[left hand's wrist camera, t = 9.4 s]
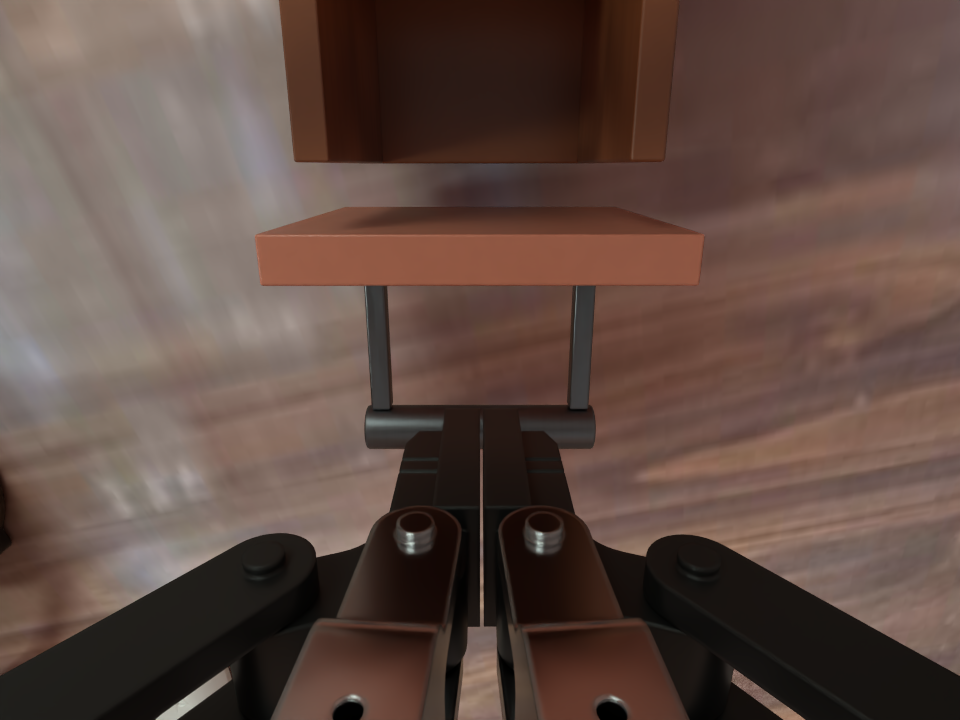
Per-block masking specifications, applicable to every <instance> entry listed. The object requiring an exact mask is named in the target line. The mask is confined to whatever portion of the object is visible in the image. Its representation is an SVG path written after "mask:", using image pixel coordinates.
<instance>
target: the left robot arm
mask: <svg viewBox="0 0 960 720" xmlns="http://www.w3.org/2000/svg"><path fill="white" fill-rule="evenodd" d="M4 518H5V501H4V495H3V492H2V488H1V486H0V554H1V553H2V552H4V551H5V550H6V549H7V548H8V547H9V546H11V544H12V542H11V540H10V539H9V537H8V536H7V534H6V533H5V531H4V529H3V523H4ZM483 572H484V626H496V630H497V678H498V686H499V694H500V703H501V711H502V719H503V720H783V719H781V718H780V717H779V716H777V715H776V714H775V713H773V712H772V711H771V710H769V709H768V708H766V707H765V706H764V705H762V704H761V703H760V702H758V701H757V700H755V699H754V698H753V697H751V696H750V695H749V694H747V693H746V692H745V691H743V690H742V689H740V688H739V687H738V686H736V685H735V684H734V683H732V682H731V680H732V675H733V670H734V669H736V670H737V671H738V672H740V673H741V674H743V675H744V676H745V677H747V678H748V679H750V680H751V681H752V682H754V683H755V684H757V685H758V686H759V687H761V688H762V689H764V690H765V691H766V692H768V693H769V694H771V695H772V696H774V697H775V698H776V699H778V700H779V701H781V702H782V703H783V704H785V705H786V706H788V707H789V708H790V709H792V710H793V711H795V712H796V713H797V714H799V715H800V716H801V717H803V718H804V719H805V720H960V676H959V675H957V674H955V673H953V672H951V671H950V670H948V669H946V668H944V667H942V666H941V665H939V664H937V663H935V662H933V661H932V660H930V659H928V658H926V657H924V656H922V655H921V654H919V653H917V652H915V651H913V650H912V649H910V648H908V647H906V646H904V645H903V644H901V643H899V642H897V641H895V640H894V639H892V638H890V637H888V636H886V635H885V634H883V633H881V632H879V631H877V630H876V629H874V628H872V627H870V626H868V625H867V624H865V623H863V622H861V621H859V620H858V619H856V618H854V617H852V616H850V615H848V614H847V613H845V612H843V611H841V610H839V609H838V608H836V607H834V606H832V605H830V604H829V603H827V602H825V601H823V600H821V599H820V598H818V597H816V596H814V595H812V594H811V593H809V592H807V591H805V590H803V589H802V588H800V587H798V586H796V585H794V584H793V583H791V582H789V581H787V580H785V579H784V578H782V577H780V576H778V575H776V574H774V573H773V572H771V571H769V570H767V569H765V568H764V567H762V566H760V565H758V564H756V563H755V562H753V561H751V560H749V559H747V558H746V557H744V556H742V555H740V554H738V553H737V552H735V551H733V550H731V549H729V548H728V547H726V546H724V545H722V544H720V543H718V542H715V541H713V540H710V539H707V538H703V537H699V536H694V535H671V536H666V537H663V538H660V539H658V540H657V541H655V542H654V543H653V544H651V546H650V547H649V549H648V551H647V555H646V557H644V556H639V555H635V554H630V553H626V552H622V551H618V550H614V549H611V548H609V547H606V546H604V545H602V544H600V543H598V542H596V541H595V540H593V539H592V536H591V534H590V531H589V529H588V527H587V525H586V524H585V523H584V522H583V520H581V519H580V518H579V517H578V516H576V515H575V512H574V508H573V504H572V500H571V496H570V492H569V488H568V484H567V480H566V476H565V473H564V468H563V465H562V461H561V457H560V453H559V449H558V445H557V443H556V442H555V441H554V440H553V439H552V438H551V437H550V436H549V435H548V434H546V433H545V432H544V431H521V426H520V419H519V412H518V408H483ZM468 627H480V408H445V413H444V421H443V428H442V431H419V432H418V433H417V434H416V435H415V436H414V437H413V438H411V439H410V440H409V441H408V442H407V443H406V446H405V450H404V454H403V458H402V462H401V466H400V473H399V475H398V479H397V483H396V487H395V491H394V495H393V499H392V504H391V508H390V512H389V513H387V514H385V515H384V516H382V517H381V518H380V519H379V520H377V522H376V523H375V524H374V525H373V527H372V529H371V531H370V533H369V536H368V539H367V541H366V543H365V544H363V545H361V546H359V547H356V548H353V549H351V550H347V551H343V552H339V553H335V554H330V555H326V556H321V557H317V558H316V552H315V549H314V547H313V546H312V544H311V543H310V542H309V541H307V540H306V539H304V538H302V537H300V536H297V535H293V534H287V533H275V534H267V535H262V536H258V537H254V538H252V539H249V540H246V541H244V542H242V543H240V544H238V545H236V546H234V547H232V548H231V549H229V550H227V551H225V552H223V553H222V554H220V555H218V556H216V557H214V558H213V559H211V560H209V561H207V562H205V563H204V564H202V565H200V566H198V567H196V568H195V569H193V570H191V571H189V572H187V573H186V574H184V575H182V576H180V577H178V578H177V579H175V580H173V581H171V582H169V583H167V584H166V585H164V586H162V587H160V588H158V589H157V590H155V591H153V592H151V593H149V594H148V595H146V596H144V597H142V598H140V599H139V600H137V601H135V602H133V603H131V604H130V605H128V606H126V607H124V608H122V609H121V610H119V611H117V612H115V613H113V614H112V615H110V616H108V617H106V618H104V619H103V620H101V621H99V622H97V623H95V624H93V625H92V626H90V627H88V628H86V629H84V630H83V631H81V632H79V633H77V634H75V635H74V636H72V637H70V638H68V639H66V640H65V641H63V642H61V643H59V644H57V645H56V646H54V647H52V648H50V649H48V650H47V651H45V652H43V653H41V654H39V655H38V656H36V657H34V658H32V659H30V660H29V661H27V662H25V663H23V664H21V665H19V666H18V667H16V668H14V669H12V670H10V671H9V672H7V673H5V674H3V675H1V676H0V720H156V719H157V718H158V717H159V716H160V715H161V714H163V713H164V712H165V711H167V710H168V709H170V708H171V707H172V706H174V705H175V704H177V703H178V702H179V701H181V700H182V699H184V698H185V697H187V696H188V695H189V694H191V693H192V692H194V691H195V690H196V689H198V688H199V687H201V686H202V685H203V684H205V683H206V682H208V681H209V680H210V679H212V678H213V677H215V676H216V675H217V674H219V673H220V672H222V671H223V670H224V669H226V668H227V667H229V666H230V667H231V672H232V677H233V679H232V680H230V681H229V682H228V683H226V684H225V685H224V686H222V687H221V688H220V689H218V690H217V691H215V692H214V693H213V694H211V695H210V696H209V697H207V698H206V699H205V700H203V701H202V702H200V703H199V704H198V705H196V706H195V707H194V708H192V709H191V710H189V711H188V712H187V713H185V714H184V715H183V716H181V717H180V718H179V719H177V720H457V719H458V711H459V703H460V694H461V686H462V678H463V656H464V654H465V652H466V649H467V633H468Z"/></svg>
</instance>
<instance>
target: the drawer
mask: <svg viewBox="0 0 960 720" xmlns="http://www.w3.org/2000/svg"><path fill="white" fill-rule="evenodd" d="M679 1H680V0H279V5H280V15H281V26H282V36H283V47H284V58H285V68H286V79H287V89H288V100H289V111H290V121H291V132H292V142H293V153H294V160H295V162H319V163H627V162H662V161H664V159H665V153H666V142H667V131H668V120H669V110H670V99H671V88H672V77H673V66H674V56H675V45H676V34H677V23H678V12H679ZM704 237H705V236H704V234H701V233H698V232H695V231H691V230H688V229H685V228H682V227H678V226H675V225H672V224H669V223H665V222H662V221H659V220H656V219H652V218H649V217H646V216H643V215H639V214H636V213H633V212H630V211H626V210H623V209H620V208H617V207H344V208H341V209H338V210H334V211H331V212H328V213H325V214H321V215H318V216H315V217H312V218H308V219H305V220H302V221H299V222H295V223H292V224H289V225H286V226H282V227H279V228H276V229H273V230H269V231H266V232H263V233H259V234H257V235H255V241H256V249H257V258H258V266H259V275H260V283H261V285H263V286H364V290H365V306H366V322H367V338H368V353H369V369H370V385H371V401H372V405H370V406H368V408H367V411H366V415H365V442H366V445H367V447H368V448H369V449H405V446H406V443H407V442H408V441H409V440H410V439H411V438H413V437H414V436H415V435H416V434H417V433H418V432H419V431H442V428H443V421H444V413H445V408H480V449H483V408H518V412H519V419H520V426H521V431H544V432H545V433H546V434H548V435H549V436H550V437H551V438H552V439H553V440H554V441H555V442H556V443H557V445H558V449H591V448H593V446H594V442H595V434H596V424H595V415H594V410H593V408H592V406H590V405H588V403H589V386H590V370H591V354H592V337H593V321H594V305H595V289H596V286H696V285H699V280H700V272H701V263H702V255H703V246H704ZM387 286H573V292H572V313H571V333H570V353H569V374H568V394H567V403H568V405H392V403H393V392H392V372H391V353H390V333H389V313H388V294H387Z"/></svg>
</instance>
